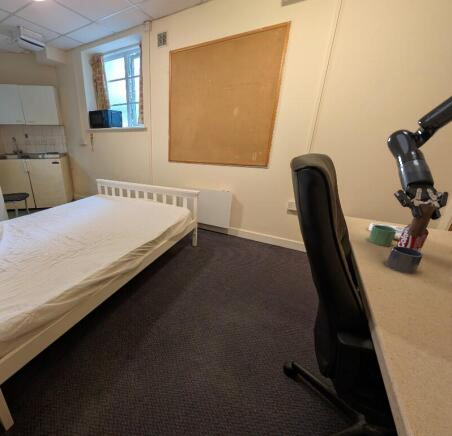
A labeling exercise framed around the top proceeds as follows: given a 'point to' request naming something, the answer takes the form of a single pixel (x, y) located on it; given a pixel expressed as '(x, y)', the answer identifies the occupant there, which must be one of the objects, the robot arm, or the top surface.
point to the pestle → (421, 221)
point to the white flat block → (399, 229)
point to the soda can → (412, 240)
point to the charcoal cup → (404, 259)
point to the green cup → (382, 235)
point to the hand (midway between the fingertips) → (427, 218)
